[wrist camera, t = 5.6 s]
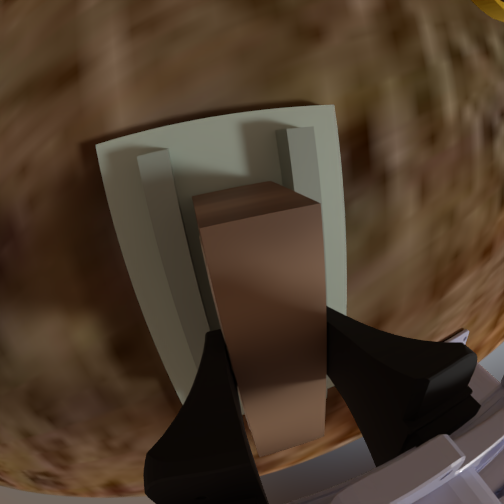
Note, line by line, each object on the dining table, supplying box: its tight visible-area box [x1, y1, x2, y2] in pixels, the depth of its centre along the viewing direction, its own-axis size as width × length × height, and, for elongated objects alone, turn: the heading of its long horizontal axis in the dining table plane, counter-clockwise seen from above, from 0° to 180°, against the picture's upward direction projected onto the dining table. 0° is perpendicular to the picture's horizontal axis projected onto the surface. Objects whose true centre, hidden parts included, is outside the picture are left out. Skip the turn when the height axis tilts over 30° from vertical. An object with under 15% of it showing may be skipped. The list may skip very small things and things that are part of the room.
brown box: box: [192, 181, 327, 457], centre depth 13 cm, size 12×4×5 cm, turn 9°
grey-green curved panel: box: [96, 105, 347, 415], centre depth 15 cm, size 18×11×2 cm, turn 9°
